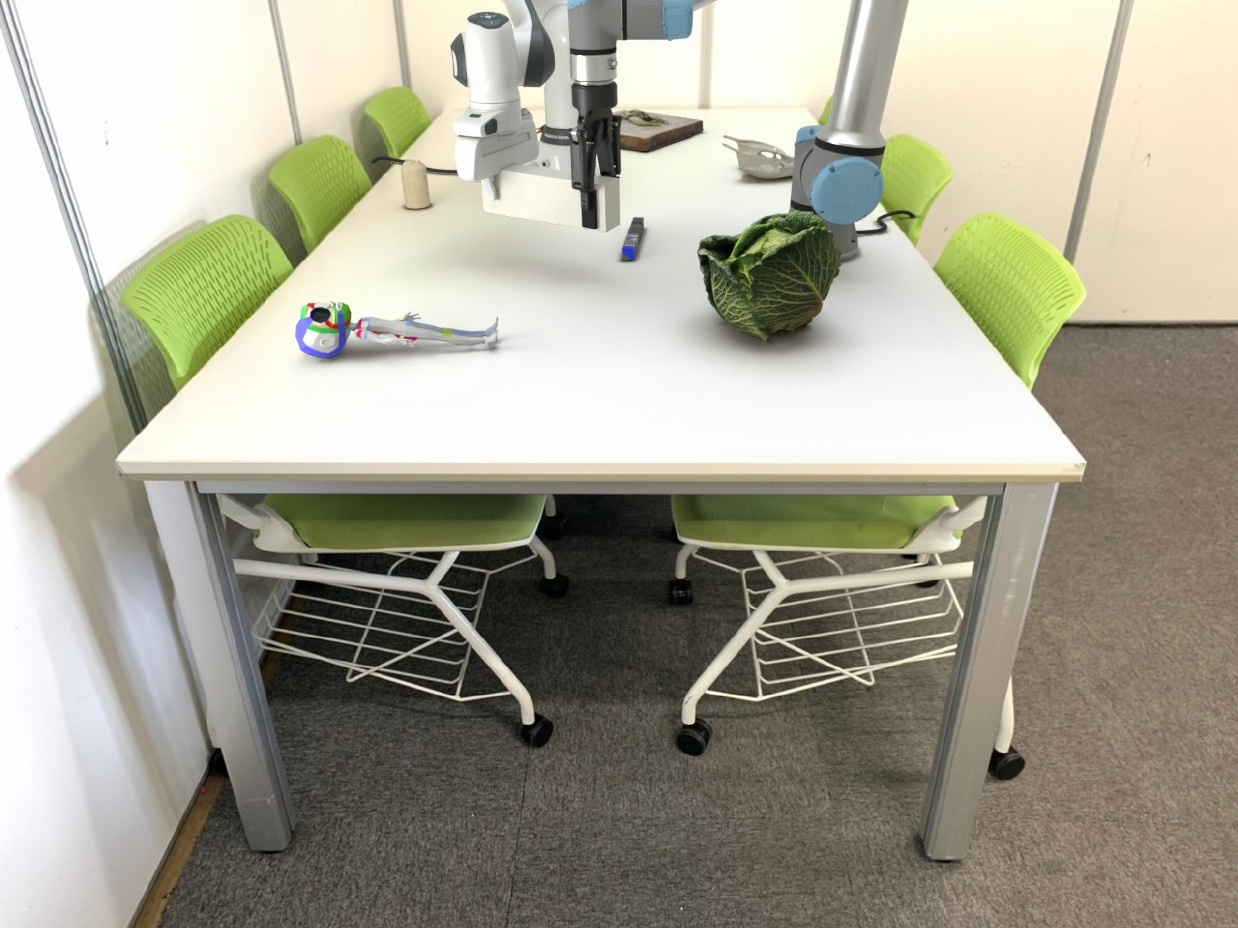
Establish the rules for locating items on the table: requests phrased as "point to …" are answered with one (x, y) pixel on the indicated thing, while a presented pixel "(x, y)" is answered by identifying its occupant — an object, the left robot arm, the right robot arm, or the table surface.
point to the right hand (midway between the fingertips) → (598, 223)
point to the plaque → (654, 129)
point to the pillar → (633, 238)
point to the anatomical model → (761, 159)
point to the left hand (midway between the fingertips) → (503, 195)
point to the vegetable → (770, 272)
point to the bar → (551, 197)
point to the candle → (415, 184)
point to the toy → (371, 330)
